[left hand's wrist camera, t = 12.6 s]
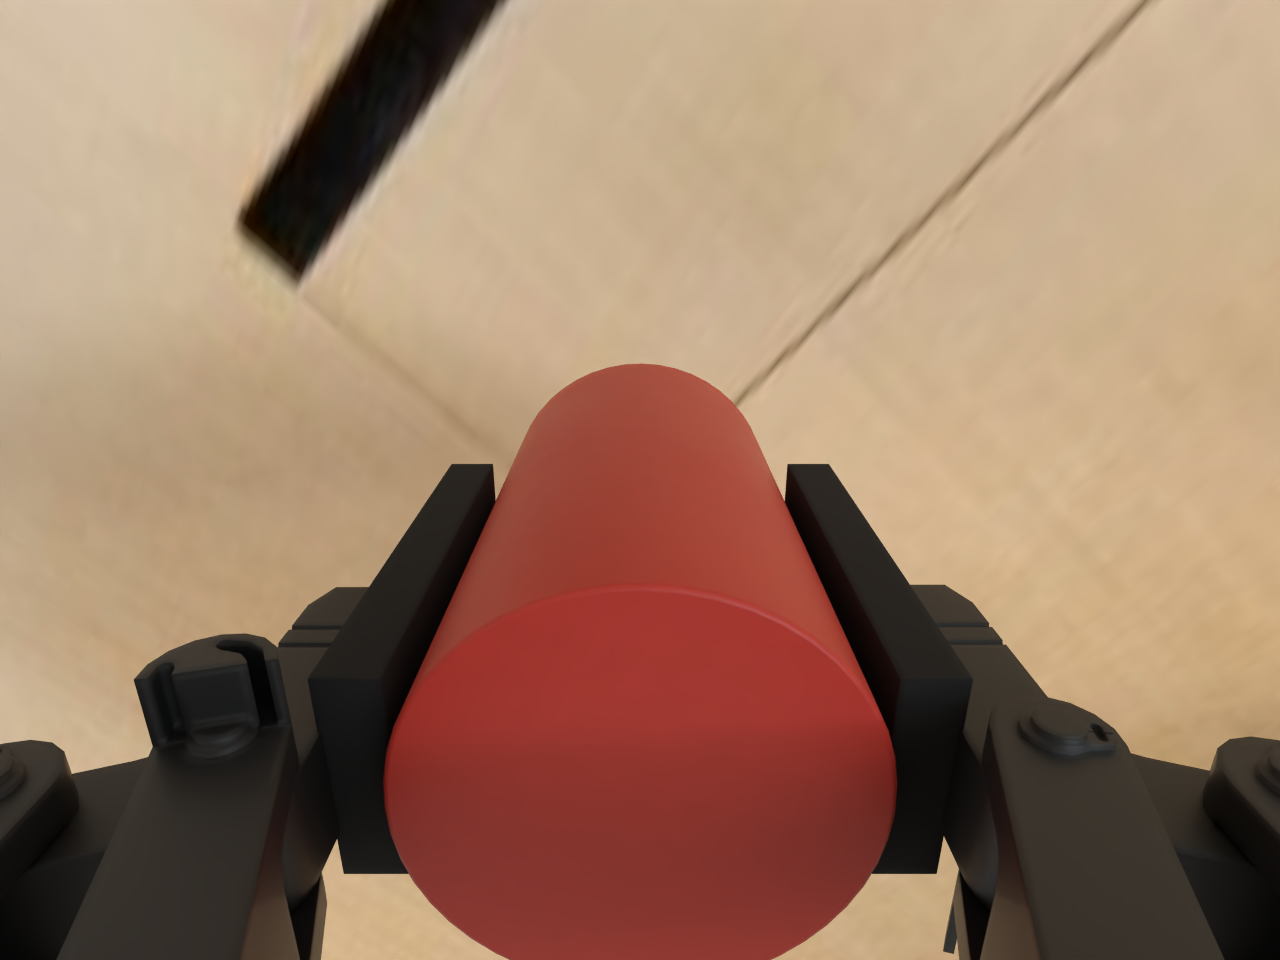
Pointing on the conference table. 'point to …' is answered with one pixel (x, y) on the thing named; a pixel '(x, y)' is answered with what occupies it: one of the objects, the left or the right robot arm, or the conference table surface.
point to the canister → (640, 701)
